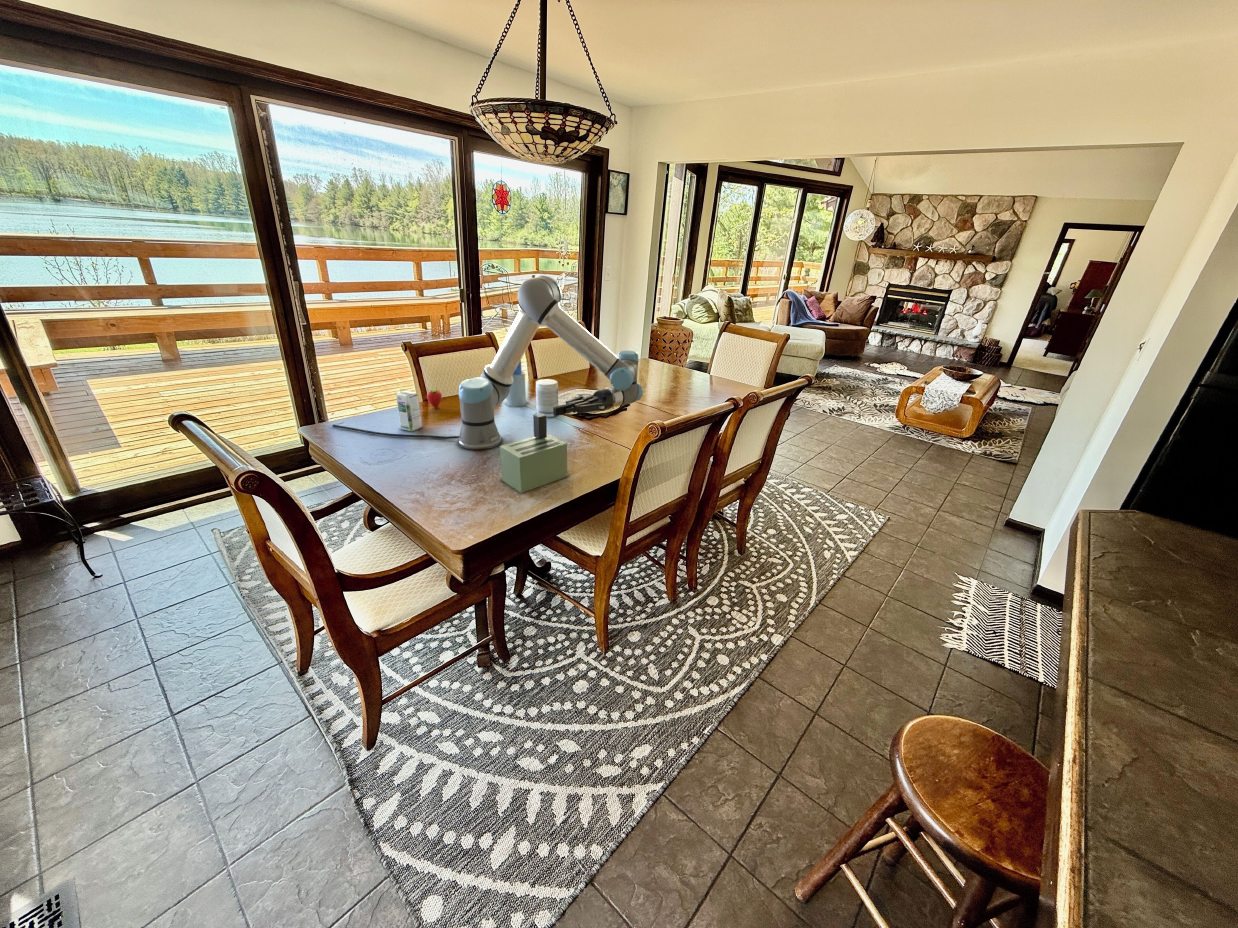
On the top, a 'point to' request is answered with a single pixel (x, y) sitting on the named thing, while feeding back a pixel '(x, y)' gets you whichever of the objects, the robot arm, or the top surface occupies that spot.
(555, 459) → the toaster
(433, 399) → the strawberry
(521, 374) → the spray bottle
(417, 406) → the syrup box
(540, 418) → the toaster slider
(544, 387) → the supplement tub
